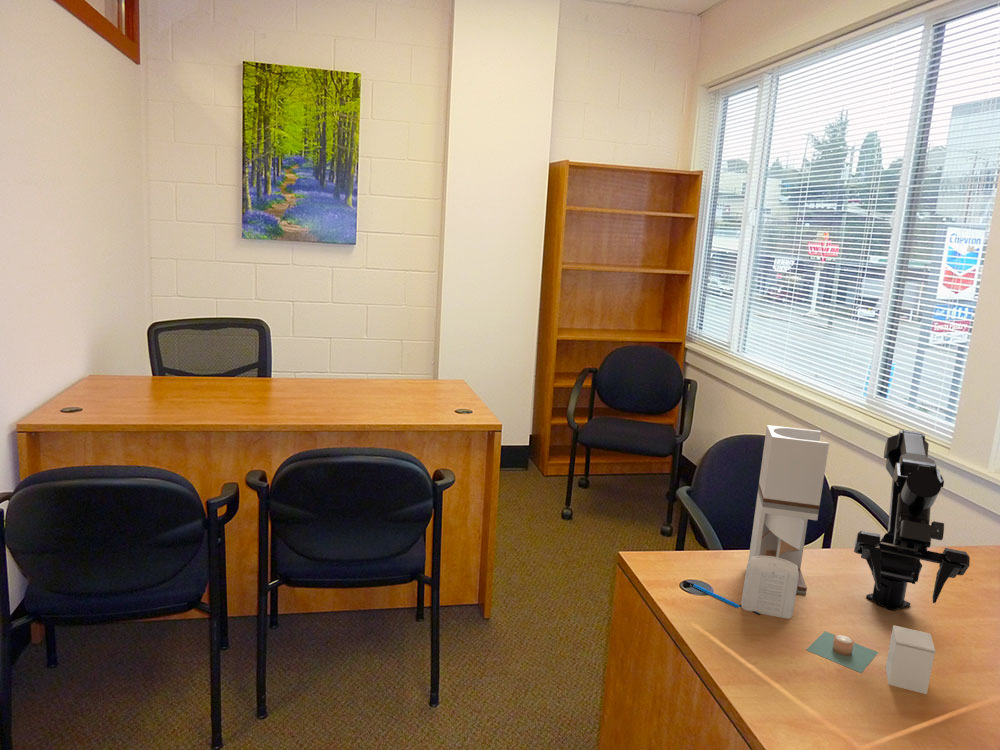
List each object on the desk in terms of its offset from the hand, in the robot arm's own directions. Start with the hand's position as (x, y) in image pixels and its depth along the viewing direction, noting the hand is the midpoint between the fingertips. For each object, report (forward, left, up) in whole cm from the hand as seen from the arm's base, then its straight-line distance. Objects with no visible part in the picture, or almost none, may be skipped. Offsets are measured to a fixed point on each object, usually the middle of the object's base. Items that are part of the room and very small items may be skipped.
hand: (906, 595), depth 138 cm
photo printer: (+10, -22, -13) cm, 28 cm away
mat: (+8, -5, -13) cm, 16 cm away
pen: (+15, -29, -14) cm, 36 cm away
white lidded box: (+5, +6, -13) cm, 15 cm away
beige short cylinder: (+8, -5, -13) cm, 16 cm away
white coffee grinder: (-3, -32, -13) cm, 35 cm away
